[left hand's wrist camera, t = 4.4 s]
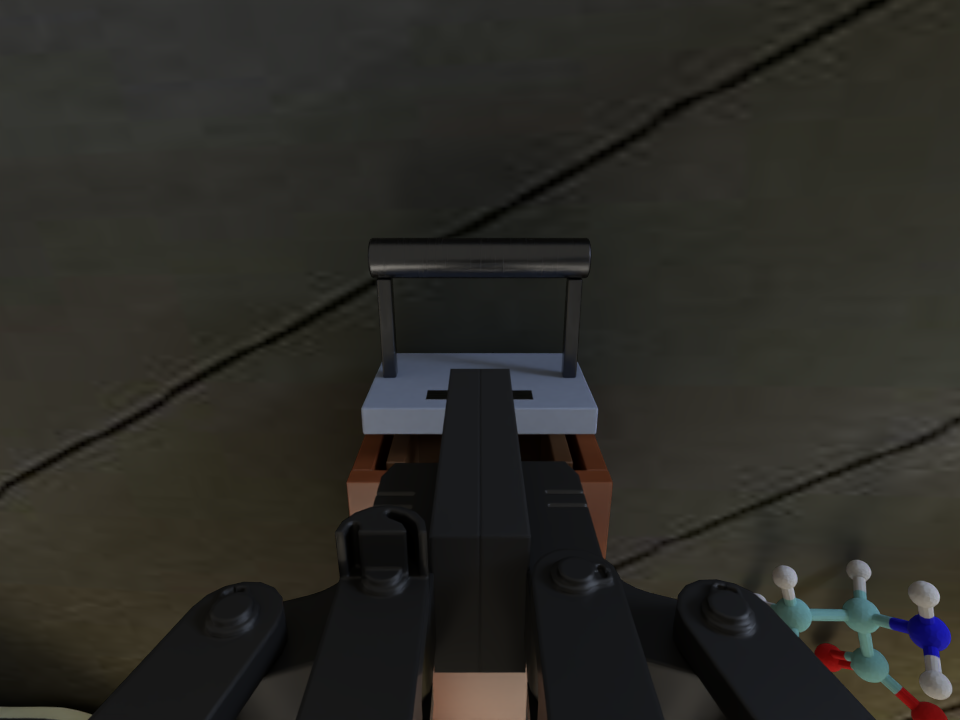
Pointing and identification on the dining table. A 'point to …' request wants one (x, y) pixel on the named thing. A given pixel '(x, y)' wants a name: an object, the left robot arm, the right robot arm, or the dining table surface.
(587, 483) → the cabinet
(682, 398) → the dining table surface
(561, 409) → the drawer
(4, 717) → the boat shoe
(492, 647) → the left robot arm
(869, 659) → the molecular model
